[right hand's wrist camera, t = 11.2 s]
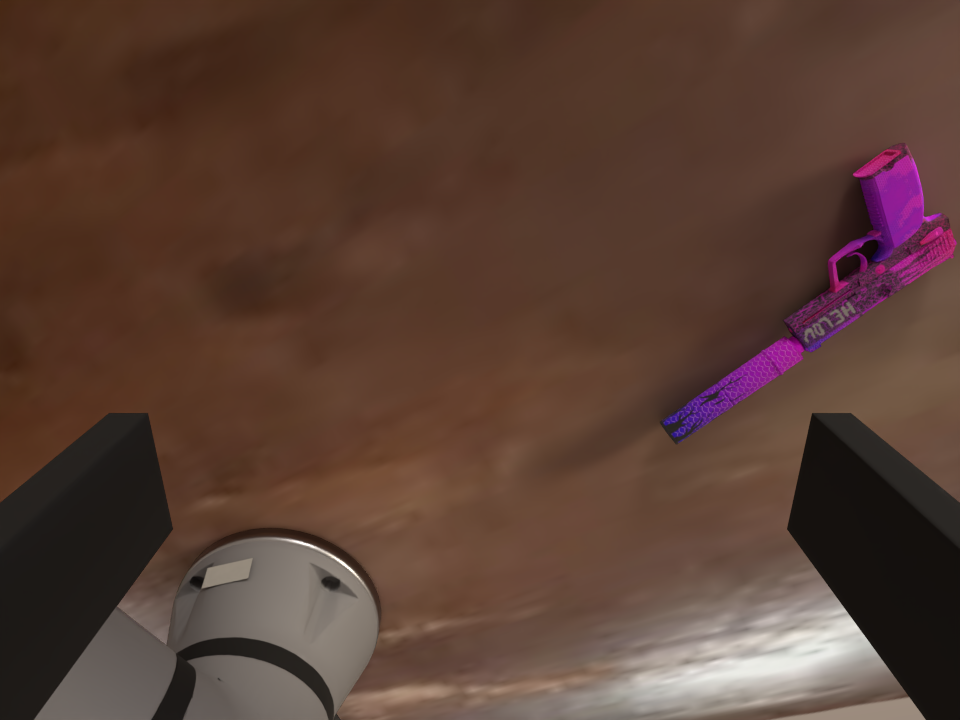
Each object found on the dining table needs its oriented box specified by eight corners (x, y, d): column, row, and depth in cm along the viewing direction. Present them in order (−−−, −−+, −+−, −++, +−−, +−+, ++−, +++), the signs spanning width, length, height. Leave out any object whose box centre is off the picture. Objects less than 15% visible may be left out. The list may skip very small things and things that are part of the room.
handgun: (893, 141, 37) (914, 142, 35) (954, 242, 39) (977, 247, 37) (607, 359, 41) (612, 370, 40) (674, 438, 43) (682, 452, 42)
